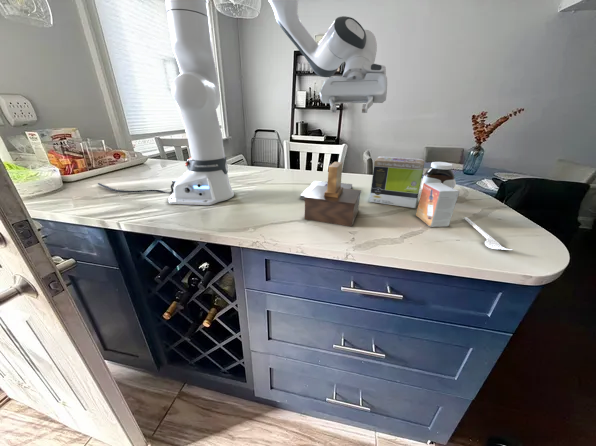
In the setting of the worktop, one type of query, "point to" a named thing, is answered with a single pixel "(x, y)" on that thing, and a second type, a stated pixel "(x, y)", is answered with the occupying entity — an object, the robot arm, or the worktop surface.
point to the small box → (436, 204)
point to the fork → (487, 237)
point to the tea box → (396, 181)
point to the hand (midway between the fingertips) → (348, 111)
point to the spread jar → (440, 174)
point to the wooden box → (332, 206)
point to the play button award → (321, 183)
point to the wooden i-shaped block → (334, 180)
